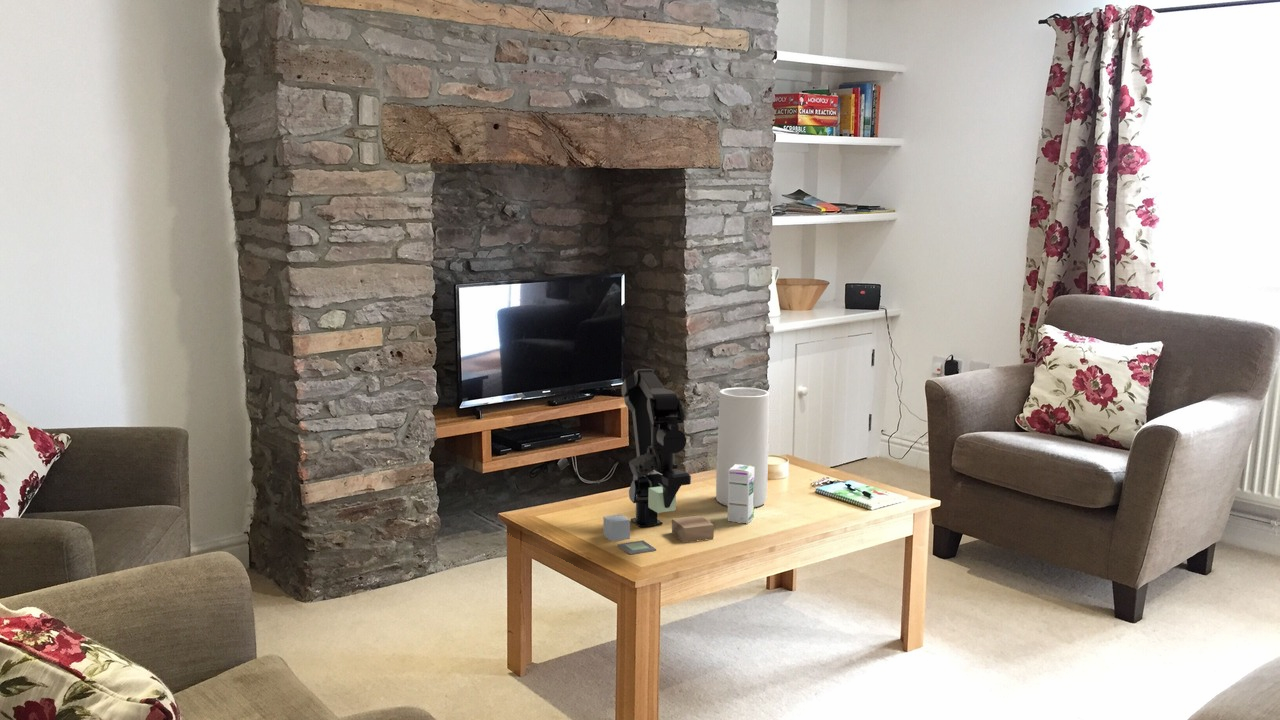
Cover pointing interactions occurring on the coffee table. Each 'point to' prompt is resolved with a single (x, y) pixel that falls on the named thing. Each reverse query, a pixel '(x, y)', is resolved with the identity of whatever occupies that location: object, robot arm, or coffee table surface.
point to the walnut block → (692, 528)
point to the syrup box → (741, 493)
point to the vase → (743, 438)
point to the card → (636, 547)
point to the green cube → (659, 500)
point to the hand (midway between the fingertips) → (661, 504)
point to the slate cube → (616, 527)
